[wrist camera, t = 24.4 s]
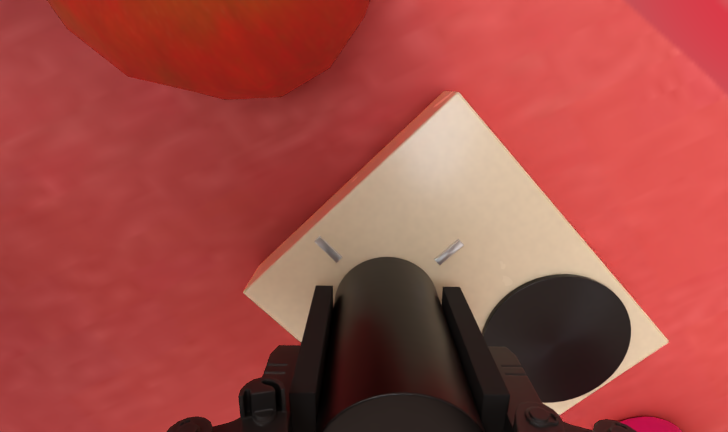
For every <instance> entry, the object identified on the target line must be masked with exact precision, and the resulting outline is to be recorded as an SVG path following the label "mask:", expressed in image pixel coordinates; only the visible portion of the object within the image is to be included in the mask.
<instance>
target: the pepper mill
mask: <svg viewBox="0 0 728 432" xmlns="http://www.w3.org/2000/svg"><path fill="white" fill-rule="evenodd" d="M620 422H621V423H623V424H626V425H628V426H629V427H631V428H632V429H634V430H636V431H637V432H682V431H681V430H680V429H679V428H678V427H677V426H676V425H674V424H673V423H671V422H669V421H666V420H664V419H659V418H655V417H635V418H630V419H626V420H623V421H620Z"/></svg>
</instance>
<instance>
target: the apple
mask: <svg viewBox="0 0 728 432" xmlns="http://www.w3.org/2000/svg"><path fill="white" fill-rule="evenodd" d="M47 1H48V2H49V4H50V5H51V7H52V8H53V10H54V11H55V12H56V14H57V15H58V17H59V18H60V19H61V21H62V22H63V24H64V25H65V26H66V28H67V29H68V30H69V31H71V32H72V33H73V34H75V35H76V36H77V37H78V38H80V39H81V40H82V41H83V42H85V43H86V44H87V45H88V46H90V47H91V48H92V49H94V50H95V51H96V52H97V53H99V54H100V55H101V56H102V57H104V58H105V59H106V60H108V61H109V62H110V63H111V64H113V65H114V66H115V67H116V68H118V69H119V70H120V71H121V72H123V73H124V74H125V75H127V76H128V77H133V78H137V79H141V80H146V81H150V82H154V83H159V84H163V85H168V86H172V87H176V88H181V89H185V90H189V91H194V92H198V93H202V94H206V95H209V96H213V97H217V98H221V99H247V98H268V97H282V96H284V95H285V94H287V93H289V92H290V91H292V90H294V89H295V88H297V87H299V86H300V85H302V84H304V83H305V82H307V81H309V80H310V79H312V78H314V77H315V76H317V75H319V74H320V73H322V72H324V71H325V70H327V69H329V68H330V67H331V66H332V64H333V63H334V61H335V60H336V58H337V57H338V55H339V54H340V52H341V51H342V49H343V48H344V46H345V45H346V43H347V42H348V40H349V39H350V37H351V36H352V34H353V33H354V31H355V30H356V28H357V27H358V25H359V24H360V22H361V21H362V19H363V18H364V16H365V13H366V10H367V7H368V4H369V1H370V0H47Z"/></svg>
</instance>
